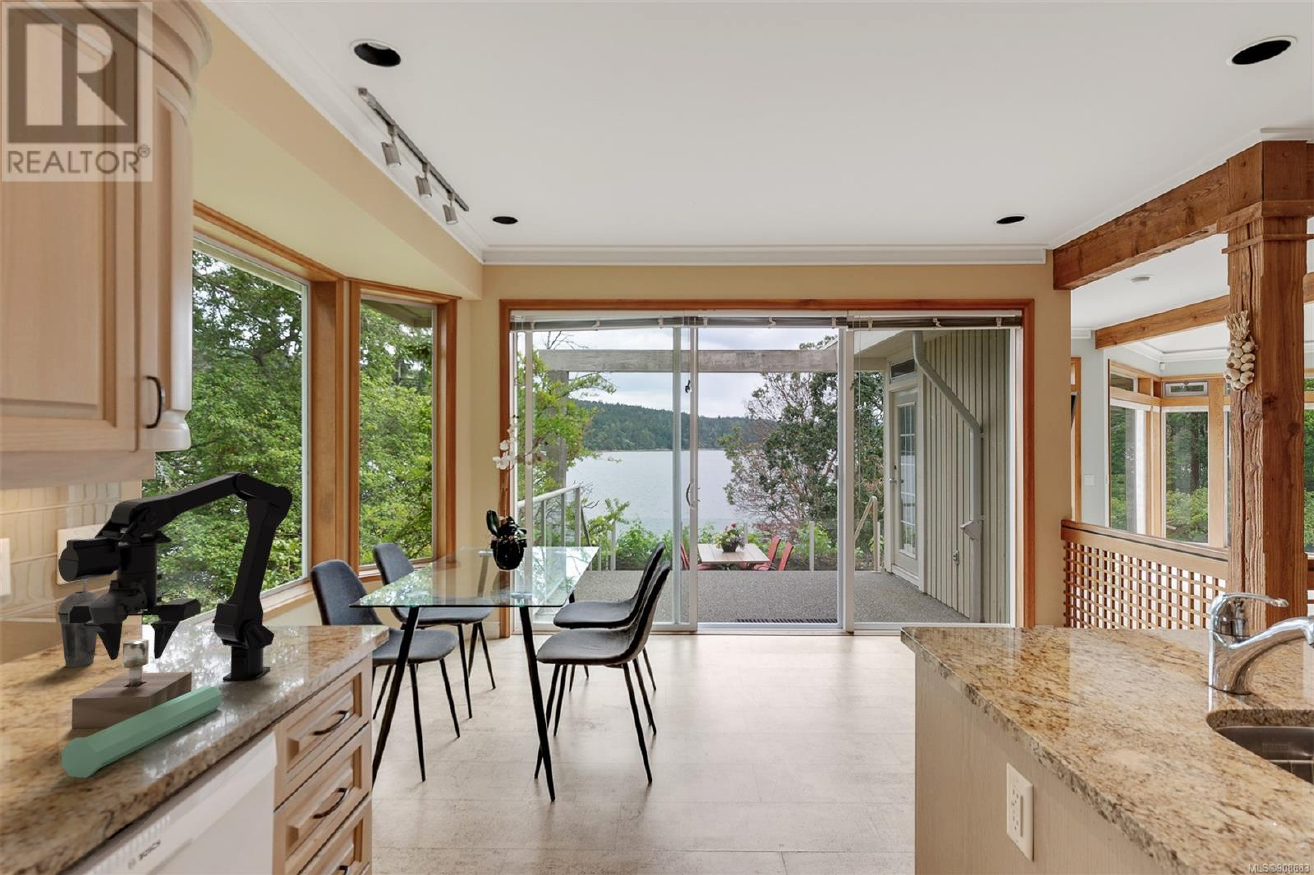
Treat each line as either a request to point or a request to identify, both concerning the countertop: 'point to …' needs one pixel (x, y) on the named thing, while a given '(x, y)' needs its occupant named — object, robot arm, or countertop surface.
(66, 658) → the beverage cup
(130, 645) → the silver metal peg
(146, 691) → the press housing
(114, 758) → the mint green octagonal rod
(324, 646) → the countertop surface
